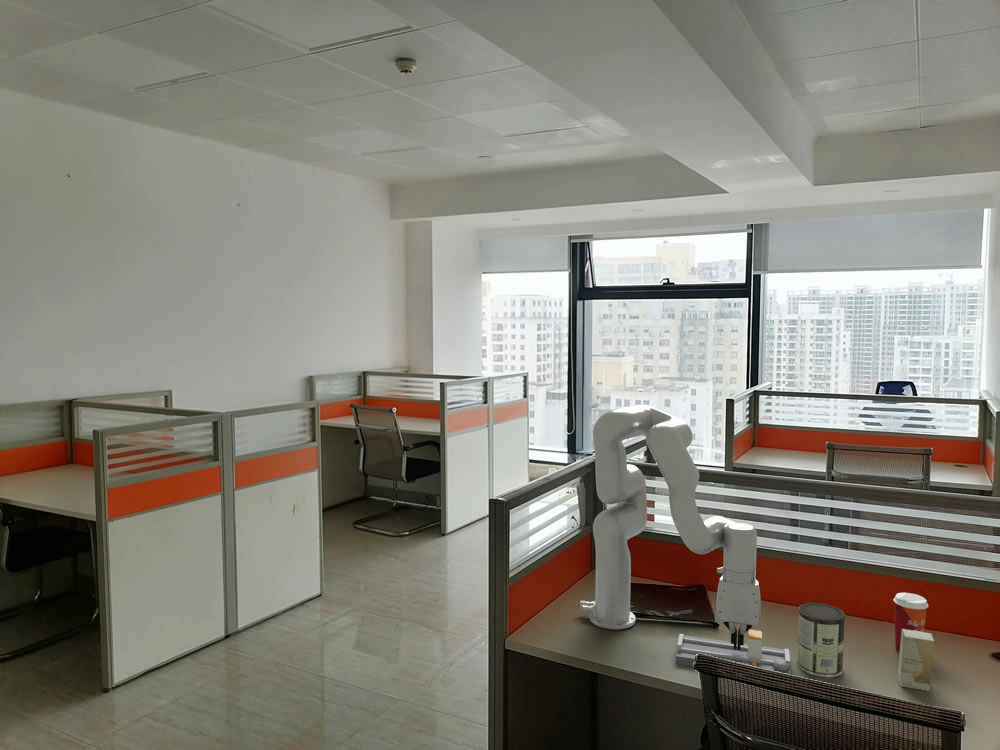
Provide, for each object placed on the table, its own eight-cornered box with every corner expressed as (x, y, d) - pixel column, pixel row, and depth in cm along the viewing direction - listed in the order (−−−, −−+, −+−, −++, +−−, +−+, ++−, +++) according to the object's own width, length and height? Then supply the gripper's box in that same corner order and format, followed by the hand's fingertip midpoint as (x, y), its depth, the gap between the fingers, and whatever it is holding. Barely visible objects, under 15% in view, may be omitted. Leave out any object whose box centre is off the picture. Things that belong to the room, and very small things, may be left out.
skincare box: (899, 687, 168) (902, 635, 167) (897, 677, 172) (899, 627, 171) (931, 692, 166) (935, 640, 165) (928, 682, 170) (931, 632, 169)
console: (675, 663, 179) (676, 649, 179) (680, 642, 190) (680, 628, 190) (790, 681, 171) (790, 666, 170) (787, 657, 182) (788, 643, 182)
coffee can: (819, 654, 184) (822, 599, 183) (852, 673, 175) (855, 616, 173) (786, 661, 181) (789, 605, 179) (818, 681, 171) (821, 623, 170)
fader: (747, 658, 177) (748, 636, 177) (747, 651, 181) (748, 629, 181) (761, 660, 176) (761, 638, 176) (760, 653, 180) (761, 631, 180)
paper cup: (912, 661, 180) (916, 606, 179) (884, 648, 187) (886, 595, 186) (932, 654, 184) (935, 600, 183) (903, 641, 191) (906, 589, 189)
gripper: (706, 576, 177) (704, 649, 179) (772, 584, 172) (769, 659, 174) (708, 566, 184) (706, 636, 186) (771, 572, 179) (769, 645, 181)
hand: (737, 647), depth 180 cm, fingers closed
